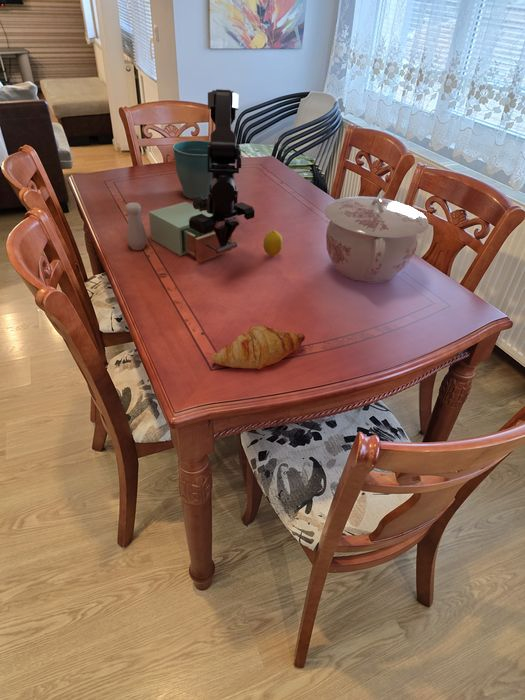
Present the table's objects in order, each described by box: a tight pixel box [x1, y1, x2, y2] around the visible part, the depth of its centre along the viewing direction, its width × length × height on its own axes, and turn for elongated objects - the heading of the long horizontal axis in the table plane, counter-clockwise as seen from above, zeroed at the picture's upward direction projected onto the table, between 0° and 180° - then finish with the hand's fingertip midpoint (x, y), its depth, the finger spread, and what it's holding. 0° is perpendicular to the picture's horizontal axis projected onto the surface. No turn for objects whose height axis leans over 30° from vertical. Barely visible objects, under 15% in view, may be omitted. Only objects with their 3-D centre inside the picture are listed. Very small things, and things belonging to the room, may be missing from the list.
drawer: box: [181, 227, 238, 263], centre depth 134 cm, size 19×12×7 cm, turn 45°
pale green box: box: [148, 201, 212, 257], centre depth 139 cm, size 15×14×9 cm
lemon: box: [263, 229, 284, 257], centre depth 135 cm, size 6×6×8 cm
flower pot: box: [172, 139, 216, 200], centre depth 169 cm, size 18×18×17 cm
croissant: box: [211, 325, 306, 370], centre depth 98 cm, size 21×10×8 cm, turn 115°
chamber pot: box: [323, 195, 429, 284], centre depth 127 cm, size 28×28×21 cm
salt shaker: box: [125, 201, 148, 251], centre depth 133 cm, size 6×6×13 cm
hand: (222, 246), depth 129 cm, fingers closed, pressing on drawer
